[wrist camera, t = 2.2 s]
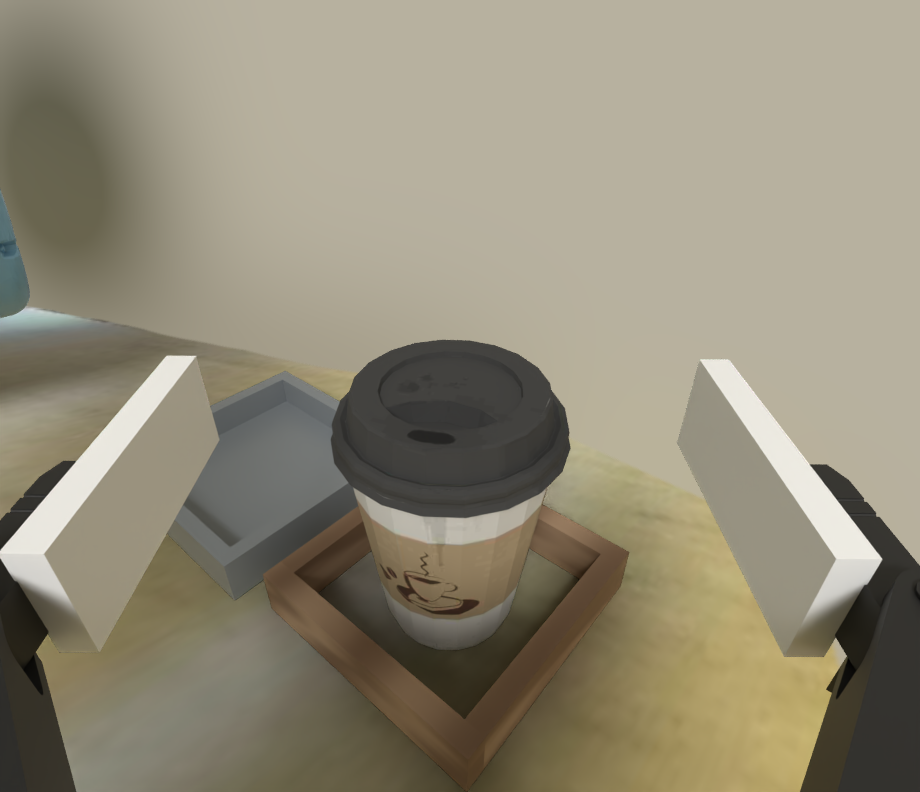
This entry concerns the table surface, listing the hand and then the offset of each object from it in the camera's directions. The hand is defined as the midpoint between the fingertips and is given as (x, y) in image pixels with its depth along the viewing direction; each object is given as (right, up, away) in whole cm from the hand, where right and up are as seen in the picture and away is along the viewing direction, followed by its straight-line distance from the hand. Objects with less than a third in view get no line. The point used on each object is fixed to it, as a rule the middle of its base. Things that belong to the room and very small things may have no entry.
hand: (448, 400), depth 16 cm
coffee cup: (0, -12, +19) cm, 23 cm away
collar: (0, -12, +19) cm, 23 cm away
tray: (-14, -6, +28) cm, 31 cm away
